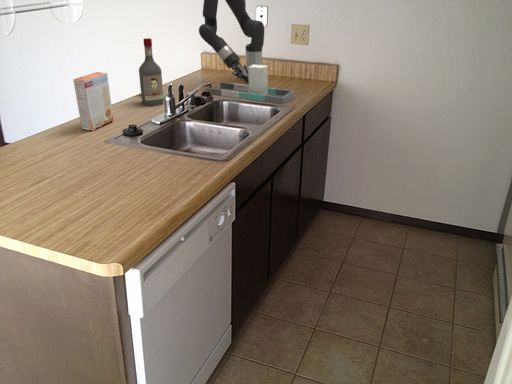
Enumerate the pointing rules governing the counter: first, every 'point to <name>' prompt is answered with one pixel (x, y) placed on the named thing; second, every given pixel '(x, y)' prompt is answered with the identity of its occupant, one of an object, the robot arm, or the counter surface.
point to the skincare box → (258, 79)
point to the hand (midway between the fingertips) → (250, 83)
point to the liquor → (150, 78)
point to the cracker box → (93, 100)
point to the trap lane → (226, 90)
